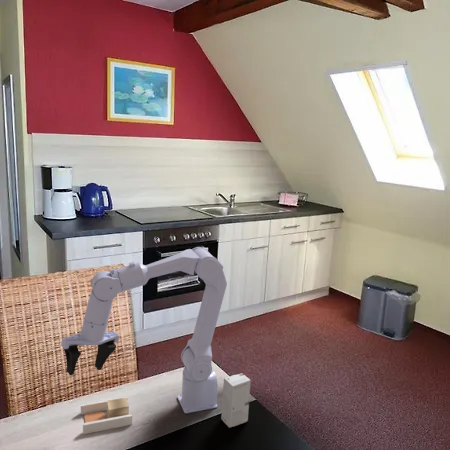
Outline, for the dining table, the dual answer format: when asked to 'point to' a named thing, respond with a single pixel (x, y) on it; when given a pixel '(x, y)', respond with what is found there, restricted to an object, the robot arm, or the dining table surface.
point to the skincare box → (235, 400)
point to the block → (117, 407)
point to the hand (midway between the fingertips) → (84, 370)
